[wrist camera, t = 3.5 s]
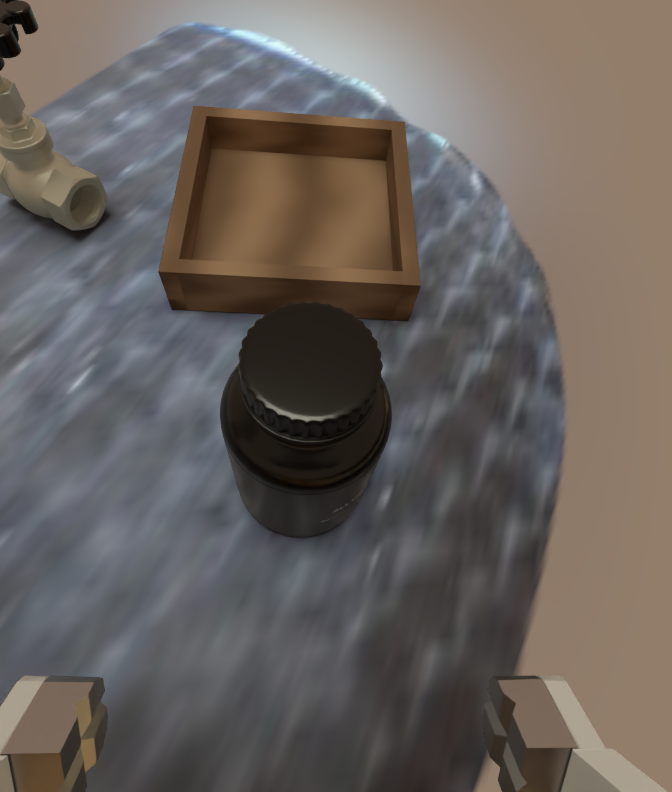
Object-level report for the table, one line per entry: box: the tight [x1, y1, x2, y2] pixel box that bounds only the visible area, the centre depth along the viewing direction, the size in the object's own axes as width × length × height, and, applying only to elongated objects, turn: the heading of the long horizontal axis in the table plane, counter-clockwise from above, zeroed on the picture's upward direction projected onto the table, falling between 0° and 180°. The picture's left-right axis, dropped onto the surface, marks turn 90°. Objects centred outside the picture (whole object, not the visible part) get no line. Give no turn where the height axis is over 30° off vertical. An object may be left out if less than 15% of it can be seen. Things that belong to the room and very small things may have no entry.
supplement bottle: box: [220, 301, 392, 537], centre depth 21 cm, size 7×7×12 cm
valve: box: [0, 0, 107, 230], centre depth 29 cm, size 7×7×12 cm
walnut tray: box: [158, 106, 421, 321], centre depth 33 cm, size 15×15×4 cm
